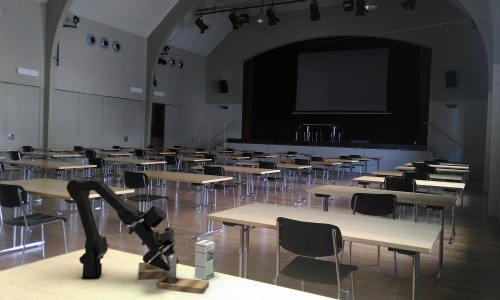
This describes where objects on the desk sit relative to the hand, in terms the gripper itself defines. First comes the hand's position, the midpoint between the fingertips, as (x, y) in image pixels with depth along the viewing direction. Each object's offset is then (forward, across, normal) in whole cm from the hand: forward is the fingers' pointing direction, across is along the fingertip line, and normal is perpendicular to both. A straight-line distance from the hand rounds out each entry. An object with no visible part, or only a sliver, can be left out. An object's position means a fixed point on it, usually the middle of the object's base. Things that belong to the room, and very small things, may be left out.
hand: (173, 266), depth 160 cm
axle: (+4, 0, +6) cm, 8 cm away
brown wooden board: (+8, 0, +3) cm, 9 cm away
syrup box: (+11, +13, 0) cm, 17 cm away
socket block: (-4, +10, +14) cm, 18 cm away
